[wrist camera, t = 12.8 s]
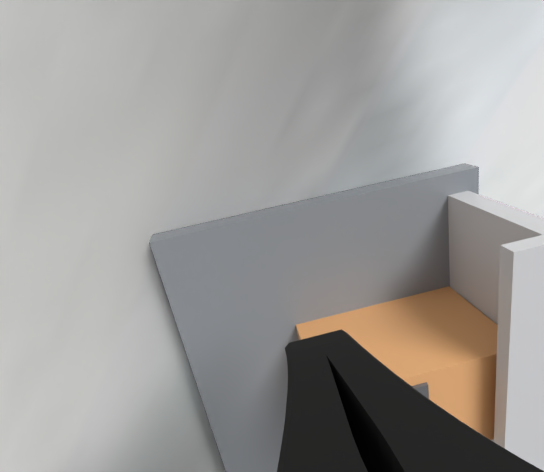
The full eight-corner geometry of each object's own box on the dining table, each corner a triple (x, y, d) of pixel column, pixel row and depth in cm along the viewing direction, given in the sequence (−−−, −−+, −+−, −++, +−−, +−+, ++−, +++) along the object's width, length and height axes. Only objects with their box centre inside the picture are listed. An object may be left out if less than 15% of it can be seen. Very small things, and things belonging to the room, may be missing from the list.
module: (448, 286, 19) (527, 348, 14) (450, 357, 21) (521, 434, 16) (295, 324, 19) (324, 403, 14) (309, 394, 20) (339, 486, 16)
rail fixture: (464, 163, 18) (606, 200, 12) (466, 478, 26) (550, 604, 20) (152, 234, 17) (115, 318, 11) (253, 540, 25) (267, 695, 19)
